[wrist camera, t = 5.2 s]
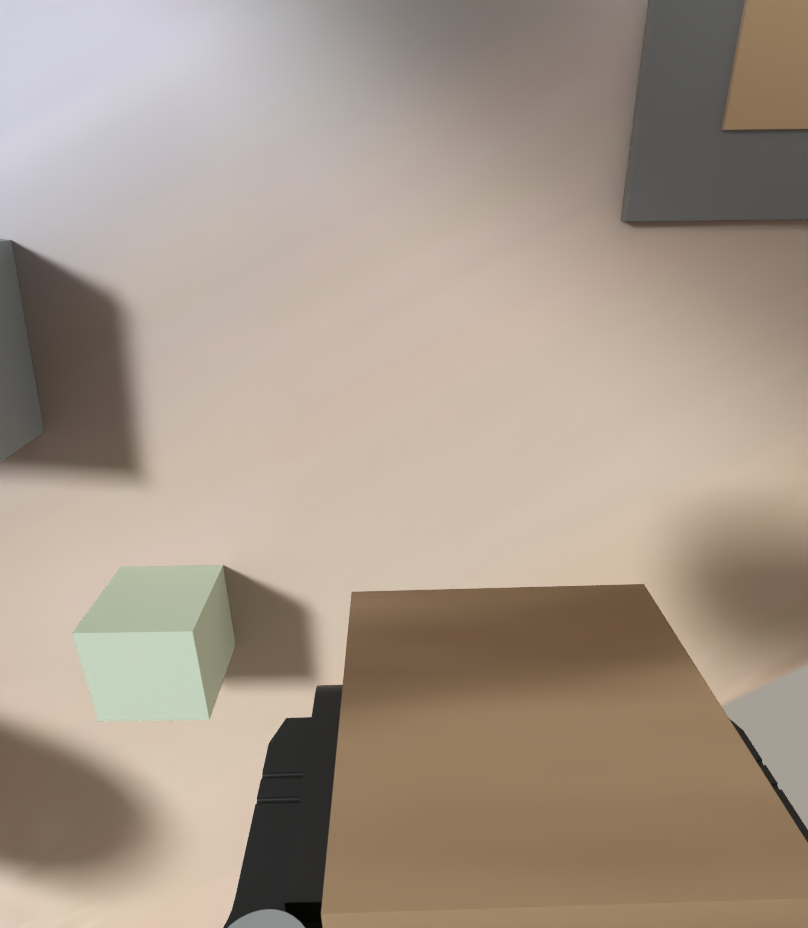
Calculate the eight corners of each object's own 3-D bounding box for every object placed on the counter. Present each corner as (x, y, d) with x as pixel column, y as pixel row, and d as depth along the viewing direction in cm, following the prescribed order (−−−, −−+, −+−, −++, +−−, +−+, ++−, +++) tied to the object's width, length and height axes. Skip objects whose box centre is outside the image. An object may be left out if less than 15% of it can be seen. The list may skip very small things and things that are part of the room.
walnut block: (351, 591, 10) (320, 914, 6) (643, 584, 10) (842, 896, 6) (365, 791, 12) (350, 1141, 8) (607, 783, 12) (731, 1128, 8)
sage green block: (121, 565, 30) (72, 633, 25) (223, 564, 30) (192, 631, 25) (140, 645, 32) (98, 721, 27) (236, 643, 32) (209, 719, 27)
